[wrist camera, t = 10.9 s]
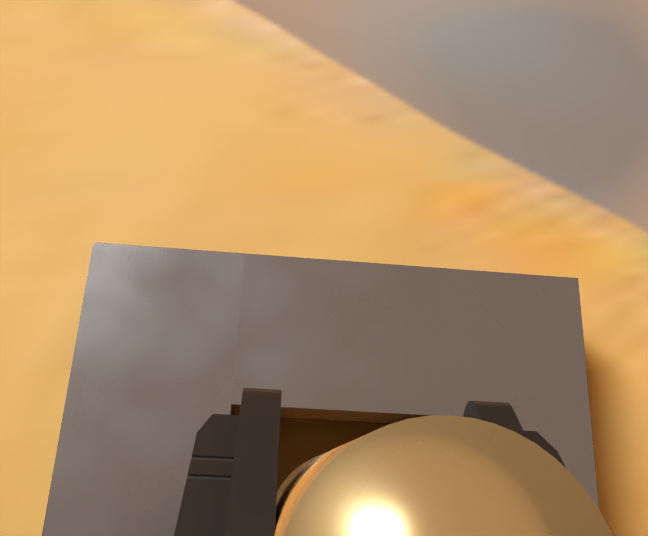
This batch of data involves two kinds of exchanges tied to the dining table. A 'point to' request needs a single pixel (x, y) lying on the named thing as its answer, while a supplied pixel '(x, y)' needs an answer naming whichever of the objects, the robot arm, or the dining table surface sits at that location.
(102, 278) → the block
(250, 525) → the robot arm
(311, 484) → the gold round-topped peg
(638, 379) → the dining table surface
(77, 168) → the dining table surface
